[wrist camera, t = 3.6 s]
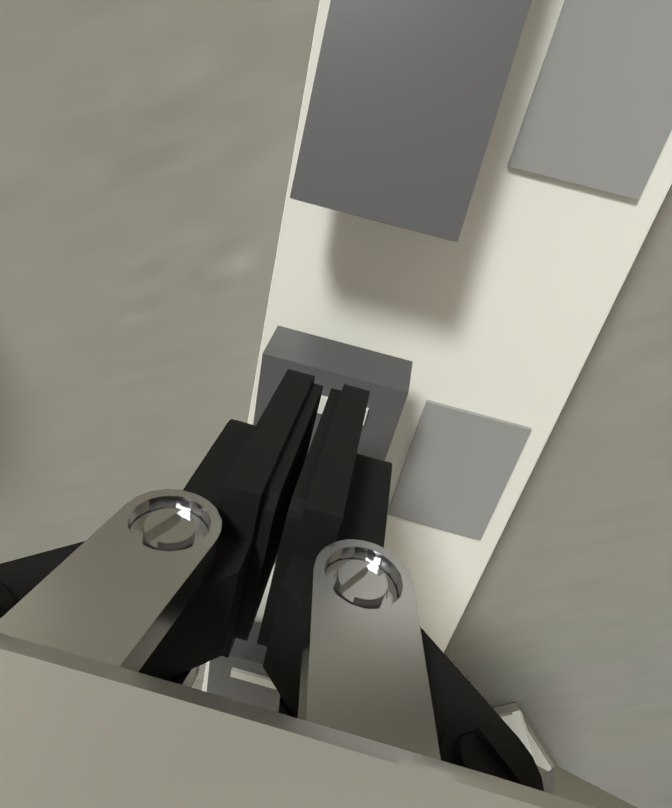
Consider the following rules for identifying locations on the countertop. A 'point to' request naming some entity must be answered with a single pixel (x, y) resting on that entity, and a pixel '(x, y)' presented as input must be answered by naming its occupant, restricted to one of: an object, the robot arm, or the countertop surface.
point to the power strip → (493, 281)
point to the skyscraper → (526, 734)
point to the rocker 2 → (406, 108)
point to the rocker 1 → (243, 674)
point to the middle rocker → (340, 381)
